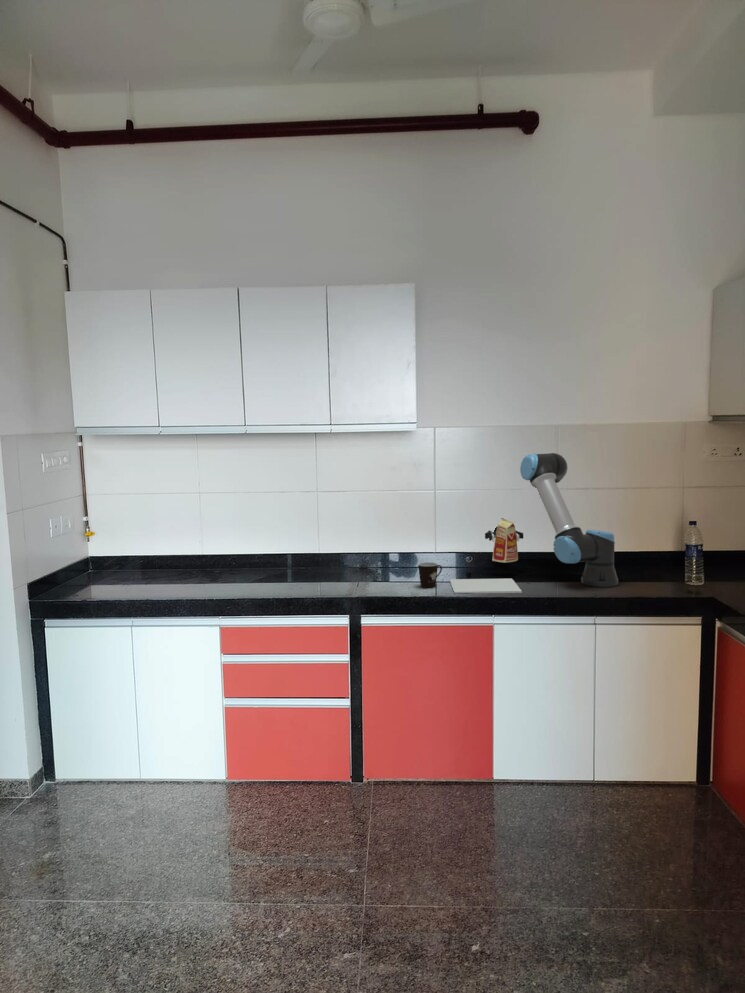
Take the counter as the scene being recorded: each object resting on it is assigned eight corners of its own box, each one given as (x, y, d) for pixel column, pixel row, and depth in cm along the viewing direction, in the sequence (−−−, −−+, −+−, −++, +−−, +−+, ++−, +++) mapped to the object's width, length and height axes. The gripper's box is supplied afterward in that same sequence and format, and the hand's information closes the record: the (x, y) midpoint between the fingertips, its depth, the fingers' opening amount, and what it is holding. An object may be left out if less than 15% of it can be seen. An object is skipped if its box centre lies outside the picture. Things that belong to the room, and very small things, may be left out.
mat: (512, 580, 290) (512, 578, 289) (521, 592, 267) (521, 591, 267) (449, 581, 291) (449, 579, 291) (454, 593, 268) (454, 591, 268)
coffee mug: (421, 589, 276) (421, 566, 275) (416, 585, 284) (415, 563, 283) (447, 587, 278) (447, 565, 277) (441, 583, 287) (441, 561, 286)
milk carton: (492, 560, 300) (491, 518, 298) (505, 557, 306) (504, 516, 304) (507, 563, 293) (507, 519, 291) (520, 560, 298) (520, 517, 297)
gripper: (524, 538, 315) (531, 546, 293) (477, 539, 318) (480, 546, 296) (524, 523, 315) (531, 530, 293) (477, 524, 317) (480, 530, 295)
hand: (505, 538), depth 294 cm, fingers closed on milk carton, 10 cm apart
